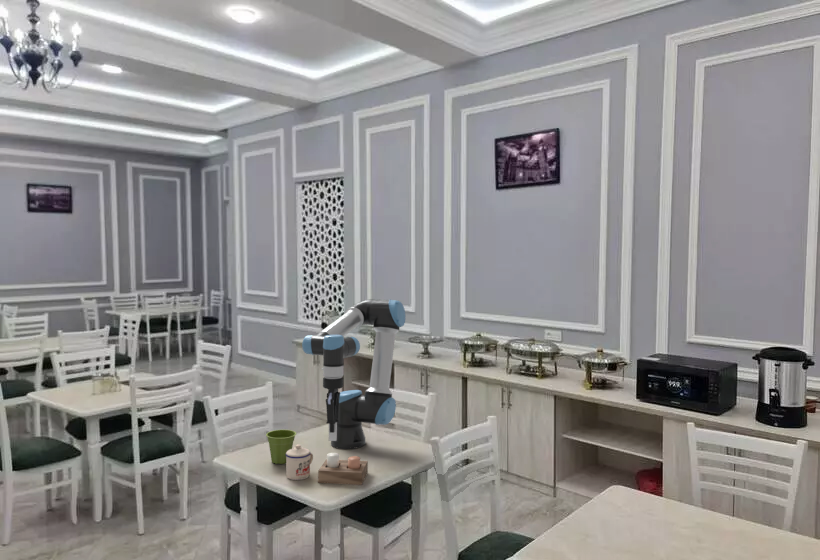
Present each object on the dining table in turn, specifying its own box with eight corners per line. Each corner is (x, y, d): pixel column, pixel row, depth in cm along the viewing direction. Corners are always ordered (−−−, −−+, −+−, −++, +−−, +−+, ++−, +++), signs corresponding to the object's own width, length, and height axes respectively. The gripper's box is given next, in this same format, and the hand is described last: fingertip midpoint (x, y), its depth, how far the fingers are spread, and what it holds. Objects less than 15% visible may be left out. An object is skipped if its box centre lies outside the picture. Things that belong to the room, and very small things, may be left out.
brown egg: (349, 471, 215) (349, 455, 215) (361, 472, 215) (361, 456, 214) (347, 476, 211) (347, 460, 210) (358, 476, 210) (358, 460, 210)
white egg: (328, 468, 216) (328, 452, 216) (340, 468, 215) (340, 452, 215) (325, 472, 211) (325, 456, 211) (337, 473, 211) (337, 456, 211)
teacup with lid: (297, 482, 208) (297, 450, 208) (280, 476, 213) (280, 445, 213) (320, 472, 218) (321, 442, 218) (303, 467, 223) (303, 437, 223)
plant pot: (285, 468, 222) (285, 439, 222) (259, 464, 227) (259, 435, 226) (302, 458, 233) (302, 431, 233) (277, 454, 238) (277, 427, 237)
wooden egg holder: (326, 470, 220) (326, 459, 220) (367, 472, 218) (367, 461, 218) (318, 482, 208) (318, 470, 208) (361, 484, 206) (361, 472, 206)
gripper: (327, 373, 219) (327, 434, 220) (318, 379, 206) (318, 445, 207) (346, 373, 218) (346, 435, 219) (339, 380, 205) (338, 446, 206)
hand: (332, 440), depth 213 cm, fingers closed
